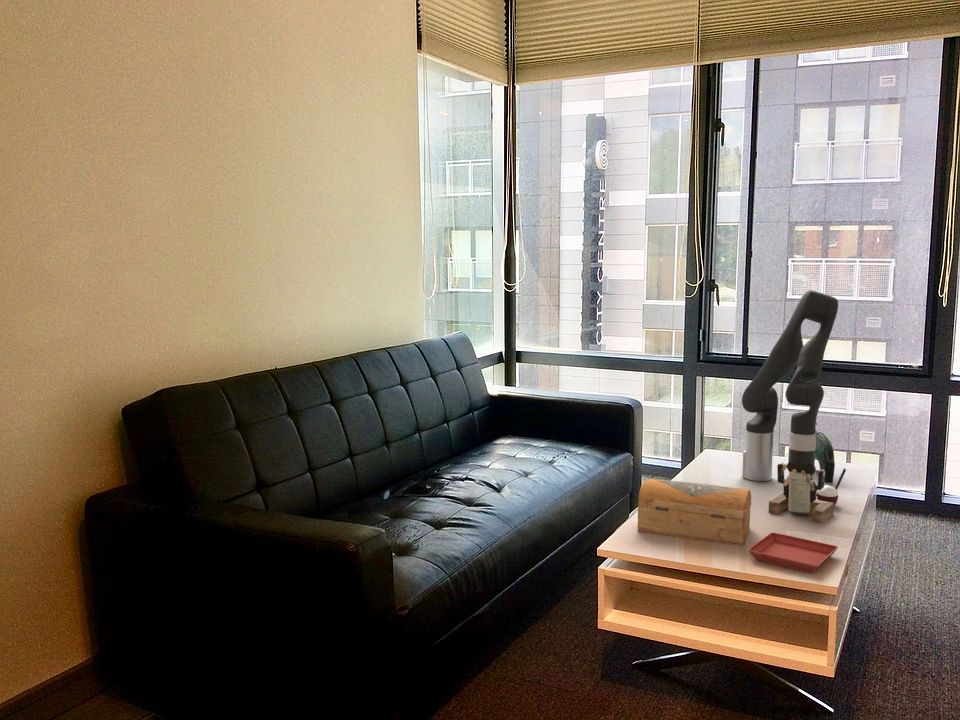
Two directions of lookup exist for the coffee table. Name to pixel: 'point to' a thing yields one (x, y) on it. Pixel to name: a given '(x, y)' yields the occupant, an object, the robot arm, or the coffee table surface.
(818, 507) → the wooden u-shaped block
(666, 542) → the coffee table surface
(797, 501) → the skincare box
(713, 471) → the coffee table surface
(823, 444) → the ceramic cat
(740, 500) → the wooden box
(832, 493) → the cocoa
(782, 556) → the plant saucer
